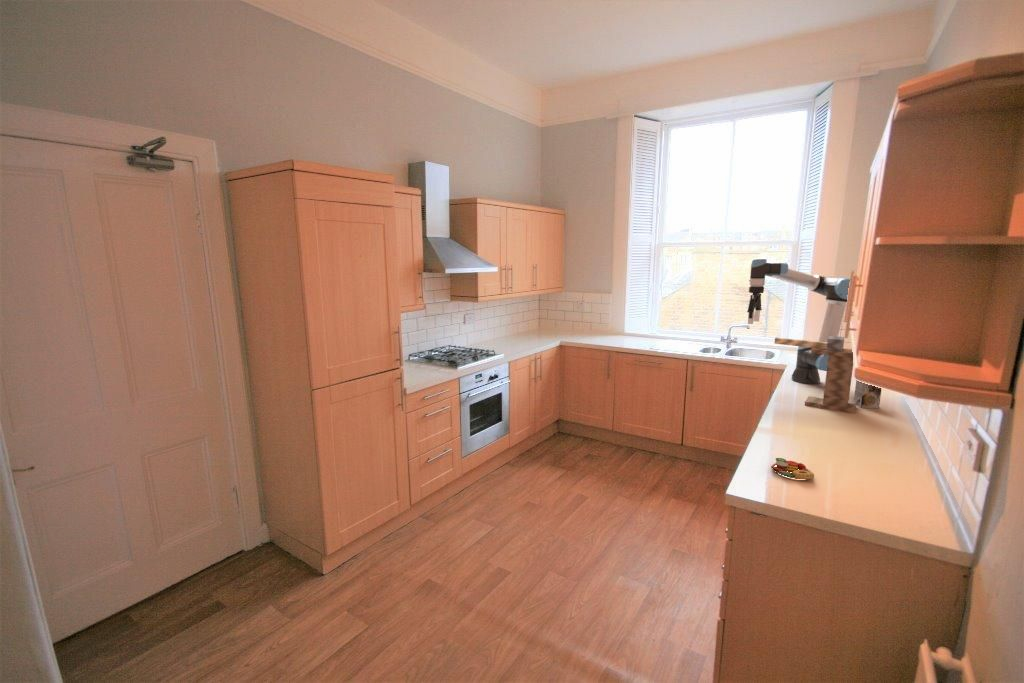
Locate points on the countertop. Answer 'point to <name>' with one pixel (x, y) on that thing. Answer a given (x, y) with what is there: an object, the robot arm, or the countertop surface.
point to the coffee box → (867, 395)
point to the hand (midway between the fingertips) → (753, 322)
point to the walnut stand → (836, 382)
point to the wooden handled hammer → (815, 343)
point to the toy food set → (792, 469)
